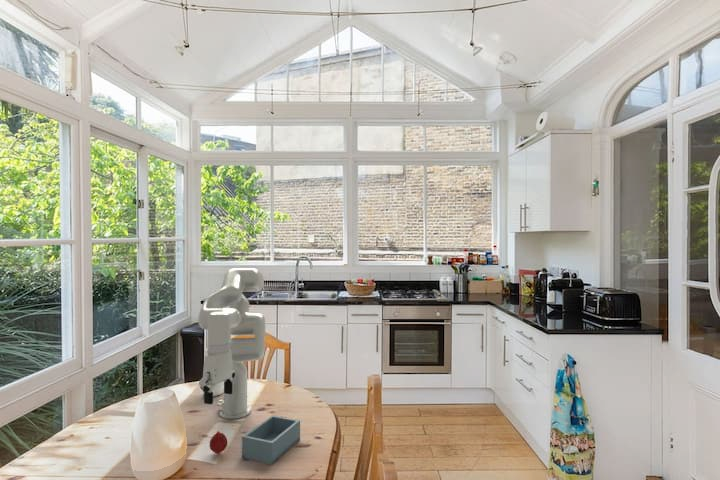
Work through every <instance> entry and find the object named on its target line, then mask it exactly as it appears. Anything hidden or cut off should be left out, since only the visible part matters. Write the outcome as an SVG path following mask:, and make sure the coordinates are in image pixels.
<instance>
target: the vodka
mask: <svg viewBox="0 0 720 480" xmlns="http://www.w3.org/2000/svg"><path fill="white" fill-rule="evenodd" d="M203 354H204V359H205V356H206V354H207V347H206V348H205V350H204V353H203ZM211 382H212V381H211ZM209 387H210V385H209V386H208V388H209ZM202 392H203V391H202ZM211 392H213V398H214V397H219V396H220V395H222V394H224V381H223V382H221V383H218V384H216V385H214V387H213V389H212V391H211ZM202 394H203V395H204V392H203V393H202ZM218 395H219V396H218Z"/></svg>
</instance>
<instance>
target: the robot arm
mask: <svg viewBox="0 0 720 480" xmlns="http://www.w3.org/2000/svg"><path fill="white" fill-rule="evenodd" d="M264 286H265V279H264V276H263V274H262V272H261V271H260V270H259V269H257V268H253V267H252V268H251V267H249V268H244V267H243V268H241V267H237V268H230V269H229V270H227V271H226V273H225V274H224V278H223V280H222V284H221V287H220V289H219V290H217V291H215V292H214V293H212V294H211V295H209V296H208V297H207V298H206V299H204V301H203V303H202V306H201V307H200V311H199V314H198V320H197V321H198V325H199V327H200V328H201V329H202V330H207V342H206V343H207V345H206V346H207V347H206V348H207V354H206V356H205V355H204V357H205V358H204V361H203V370H202V378H201V379H199V381H198V384H199V386H200V387H199V388H200V389H201V390H202V392H204V394H203V404H205V405H212V404H214V397H213V392H211V391H212V389H213V387H214V385H216V384H218V383H221V382H223V387H224V391H223V399H219V400H218V403H217V404H216V406H217V407H221V409H220V410H219V416H220V417H221V418H222V419H227V420H235V419H236V420H237V419H241V418H244V417H247V416H248V415H249V414H250V413H251V412H252V408H251V406H249V405H248V370H247V369H248V368H247V367H246V365H245V364H244V363H243V362H249V361H250V362H253V361H261V360H262V359H263V358H264V355H265V347H266V346H265V345H266V344H265V342H266V318H265V316H264V315H263V313H259V312H254V313H253V312H250V301H249V300H248V299H247V298H246V296H245V295H244V294H243V293H258V292H261V291H263V288H264ZM232 336H238V337H233V338H231V337H232ZM239 336H253V337H239ZM211 381H212V382H211ZM209 385H210V387H209V388H208V386H209Z"/></svg>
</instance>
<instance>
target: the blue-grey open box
mask: <svg viewBox="0 0 720 480" xmlns="http://www.w3.org/2000/svg"><path fill="white" fill-rule="evenodd" d="M300 440H301V419H295V418H290V417H284V416H278V415H274V414H273V415H271V416H269V417H268V418H267V419H265V420H263V421H262V422H260V423H259V424H258V425H256V426H255V427H254V428H252V429H251V430H250V431H248V432H247V433H245V434H244V435H241V458H242V459H246V460H252V461H255V462H260V463H264V464H268V465H274V464H275V463H276V462H277V461H278V460H279V459H280V458H282V457H283V456H284V455H285V454H286V453H287V452H288V451H289V450H290V449H292V447H294V446H295V445H297V443H298V442H299V441H300Z"/></svg>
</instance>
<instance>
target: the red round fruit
mask: <svg viewBox="0 0 720 480" xmlns="http://www.w3.org/2000/svg"><path fill="white" fill-rule="evenodd" d="M228 443H229V442H228V437H227V436H226V435H225V434H224V432H221V431H220V429H217V430H216V433H215V434H213V435H212V437H211V438H210V440H209V444H208V445H209V448H210V450H211V451H212V452H213V453H214V454H216V455H221V453H222V452H224V451H225V449H227V447H228Z"/></svg>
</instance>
